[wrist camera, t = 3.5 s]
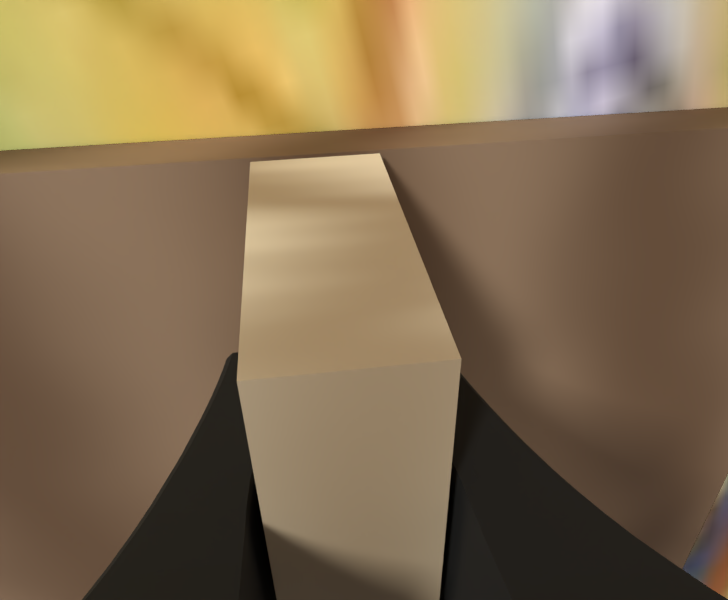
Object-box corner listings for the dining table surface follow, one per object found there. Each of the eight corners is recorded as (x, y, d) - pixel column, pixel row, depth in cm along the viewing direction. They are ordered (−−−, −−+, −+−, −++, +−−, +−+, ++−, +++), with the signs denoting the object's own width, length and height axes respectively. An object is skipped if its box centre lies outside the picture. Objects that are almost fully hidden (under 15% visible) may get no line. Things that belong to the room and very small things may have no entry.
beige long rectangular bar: (303, 572, 16) (316, 817, 12) (250, 162, 9) (237, 380, 5) (381, 562, 16) (421, 800, 12) (379, 153, 10) (461, 358, 6)
